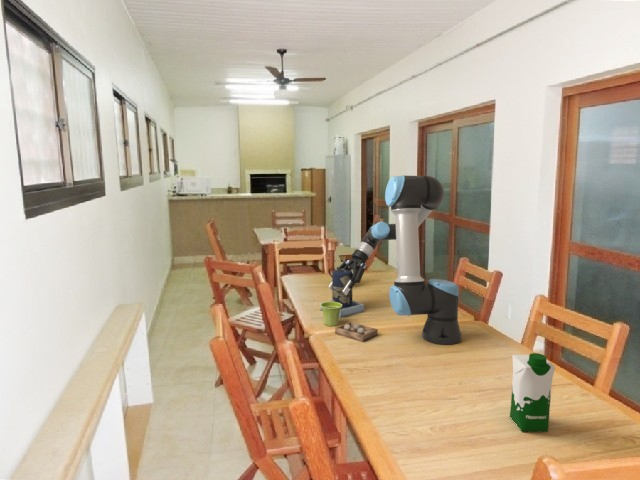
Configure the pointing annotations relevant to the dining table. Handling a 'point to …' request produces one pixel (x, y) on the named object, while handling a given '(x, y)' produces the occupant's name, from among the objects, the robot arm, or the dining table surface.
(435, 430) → the dining table surface
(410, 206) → the robot arm
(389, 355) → the dining table surface
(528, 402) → the milk carton
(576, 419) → the dining table surface
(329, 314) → the plant pot
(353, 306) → the slate dish
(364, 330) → the pebble tray
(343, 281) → the canister
